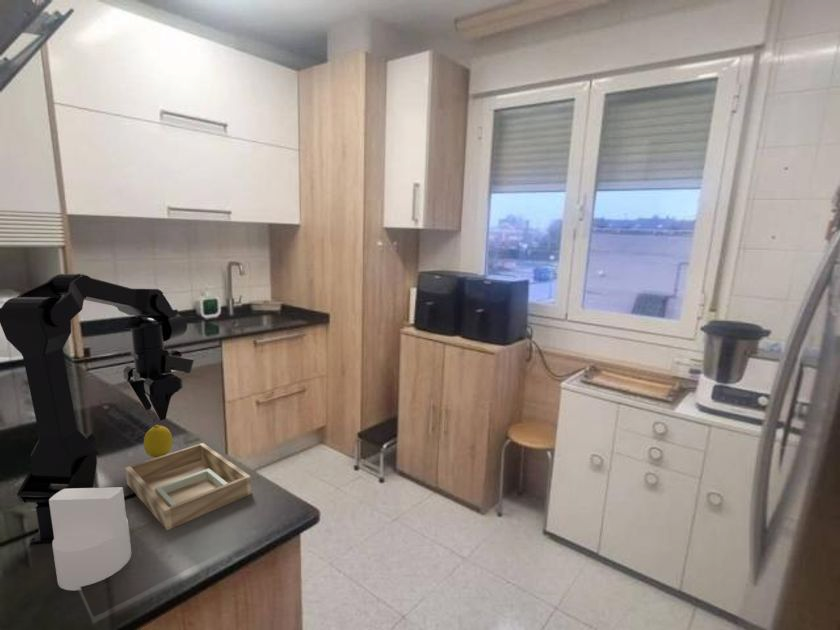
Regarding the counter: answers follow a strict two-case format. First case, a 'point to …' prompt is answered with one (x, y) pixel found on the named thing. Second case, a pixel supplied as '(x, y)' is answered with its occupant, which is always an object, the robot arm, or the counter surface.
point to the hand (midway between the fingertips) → (155, 414)
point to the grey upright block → (89, 535)
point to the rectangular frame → (185, 481)
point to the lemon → (158, 441)
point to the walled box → (190, 497)
